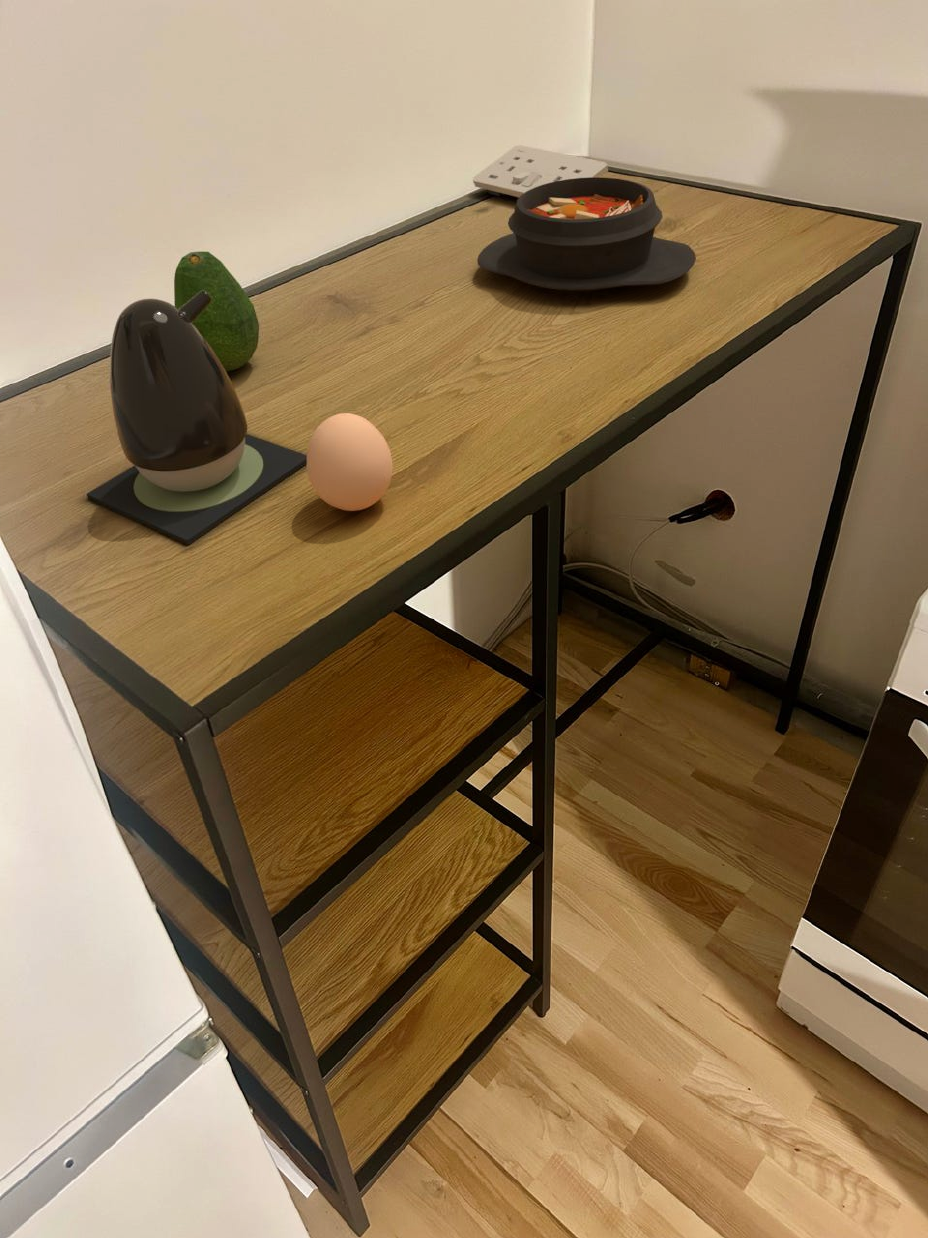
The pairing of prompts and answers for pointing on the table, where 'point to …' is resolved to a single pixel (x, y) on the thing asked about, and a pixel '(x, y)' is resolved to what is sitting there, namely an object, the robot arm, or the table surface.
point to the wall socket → (534, 170)
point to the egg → (349, 462)
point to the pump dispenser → (173, 397)
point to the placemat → (199, 492)
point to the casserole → (587, 238)
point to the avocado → (219, 308)
